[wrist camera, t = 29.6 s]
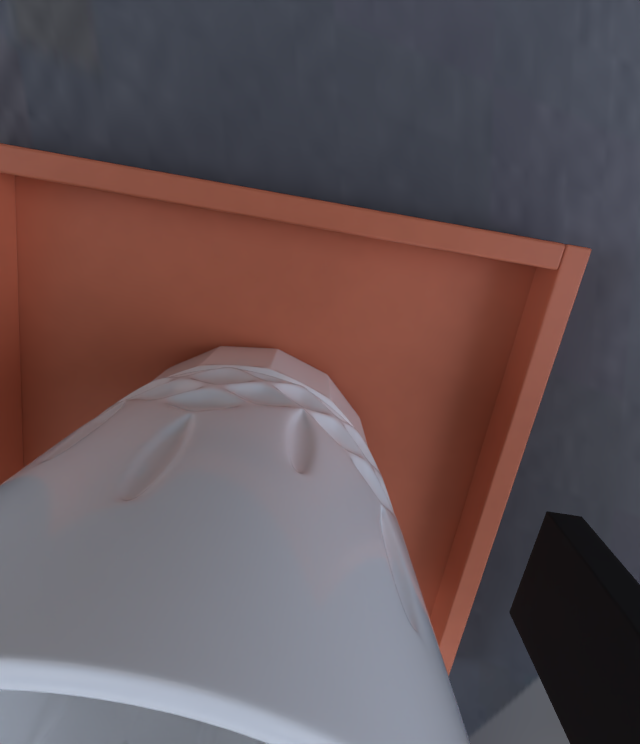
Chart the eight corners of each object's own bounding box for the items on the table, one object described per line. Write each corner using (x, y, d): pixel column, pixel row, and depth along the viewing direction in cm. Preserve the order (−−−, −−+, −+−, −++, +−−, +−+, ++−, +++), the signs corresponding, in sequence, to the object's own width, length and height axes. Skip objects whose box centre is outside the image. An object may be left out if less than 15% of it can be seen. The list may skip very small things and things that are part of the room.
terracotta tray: (557, 245, 12) (593, 248, 10) (428, 656, 16) (439, 703, 15) (3, 146, 11) (-49, 134, 10) (20, 600, 16) (-15, 643, 14)
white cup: (437, 483, 14) (697, 1079, 4) (230, 606, 15) (72, 1257, 6) (274, 261, 12) (68, 423, 2) (55, 427, 13) (-633, 951, 4)
